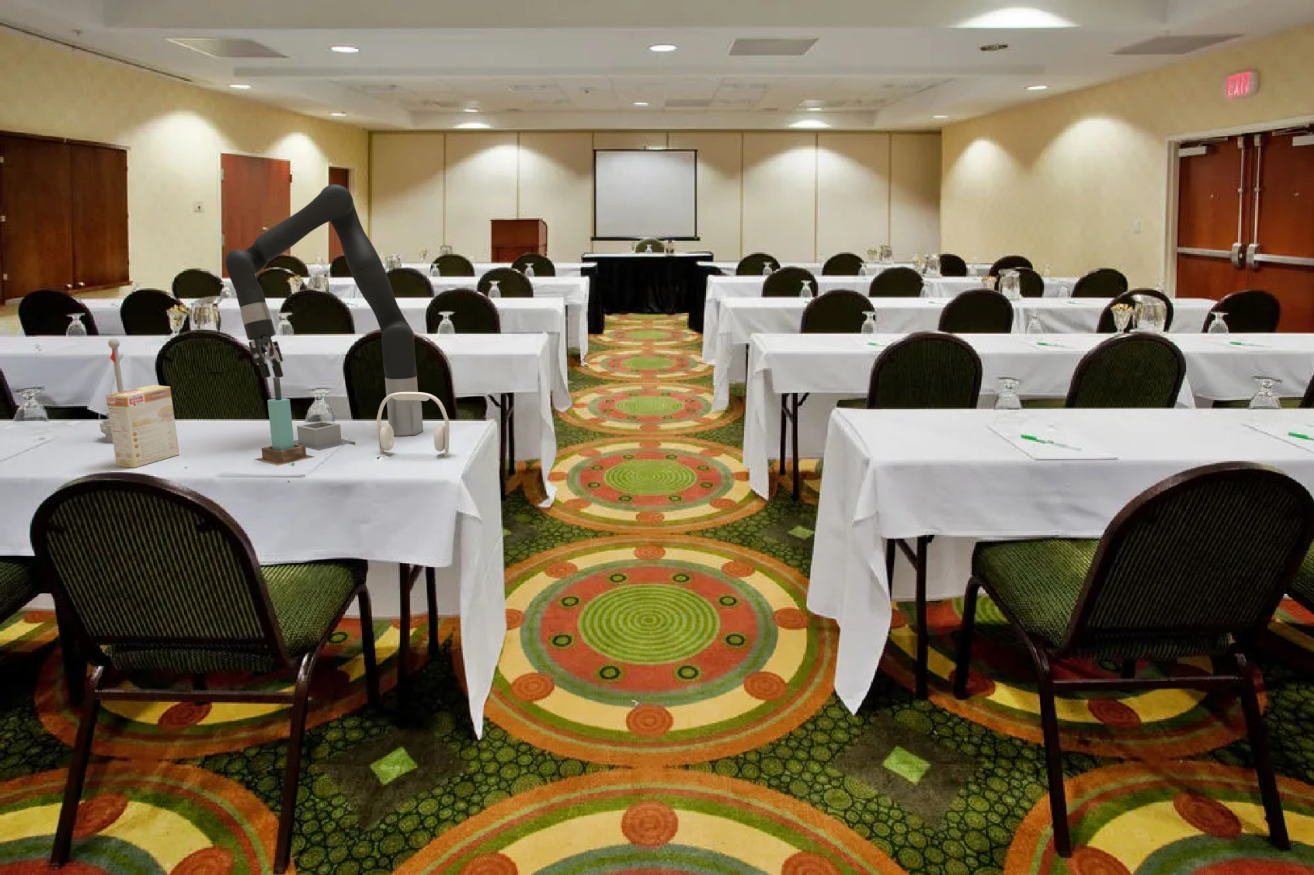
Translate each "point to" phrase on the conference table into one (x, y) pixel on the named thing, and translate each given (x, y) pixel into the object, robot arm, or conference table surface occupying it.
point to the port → (320, 435)
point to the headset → (386, 430)
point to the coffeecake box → (142, 425)
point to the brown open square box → (283, 455)
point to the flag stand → (115, 358)
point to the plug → (280, 420)
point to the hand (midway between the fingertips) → (273, 377)
